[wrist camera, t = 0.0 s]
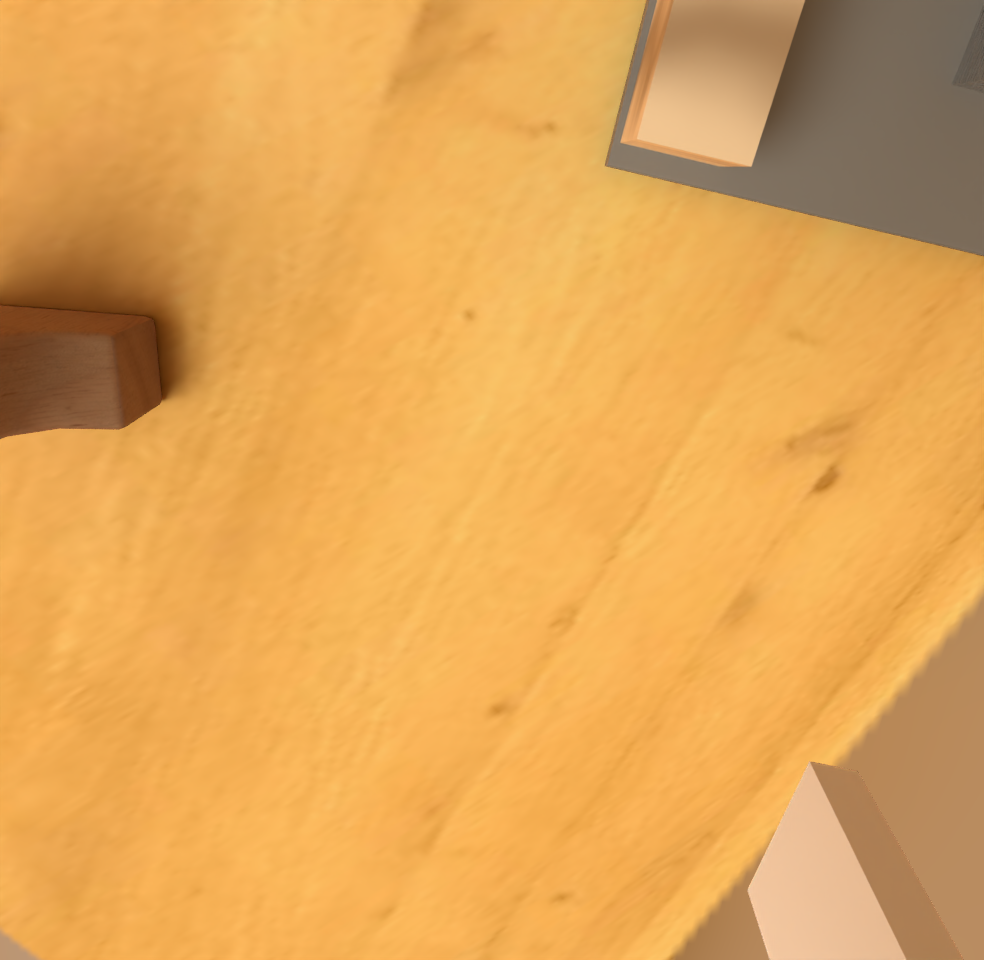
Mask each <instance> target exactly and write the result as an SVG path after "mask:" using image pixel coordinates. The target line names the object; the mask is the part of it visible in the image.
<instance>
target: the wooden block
mask: <svg viewBox="0 0 984 960" xmlns="http://www.w3.org/2000/svg"><path fill="white" fill-rule="evenodd" d="M161 400H162V393H161V383H160V372H159V362H158V352H157V342H156V331H155V323H154V321H153V319H151V318H148V317H146V316H137V315H124V314H111V313H98V312H85V311H71V310H58V309H45V308H32V307H18V306H5V305H0V439H1V438H4V437H7V436H13V435H20V434H26V433H33V432H39V431H46V430H52V429H59V428H65V429H121V428H124V427H126V426H128V425H129V424H131V423H132V422H134V421H135V420H137V419H138V418H140V417H141V416H143V415H144V414H146V413H147V412H149V411H150V410H152V409H153V408H155V407H156V406H158V405H159V404H160V403H161Z"/></svg>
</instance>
